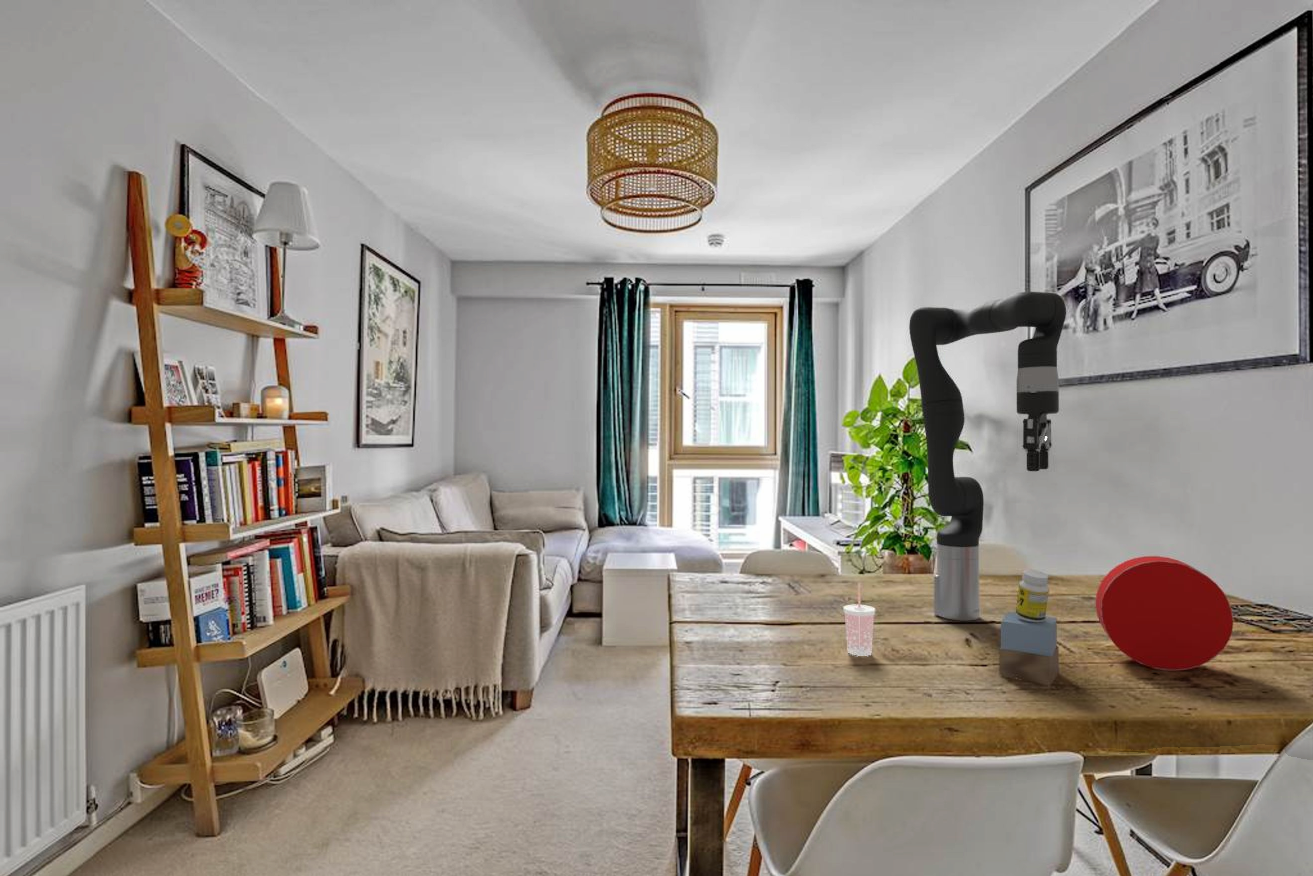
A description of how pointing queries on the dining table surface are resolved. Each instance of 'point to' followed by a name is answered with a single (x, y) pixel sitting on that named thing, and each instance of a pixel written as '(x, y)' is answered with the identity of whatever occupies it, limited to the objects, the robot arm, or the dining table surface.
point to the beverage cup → (859, 627)
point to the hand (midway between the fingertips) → (1037, 470)
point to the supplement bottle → (1032, 596)
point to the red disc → (1164, 613)
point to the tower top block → (1029, 635)
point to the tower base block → (1029, 666)
